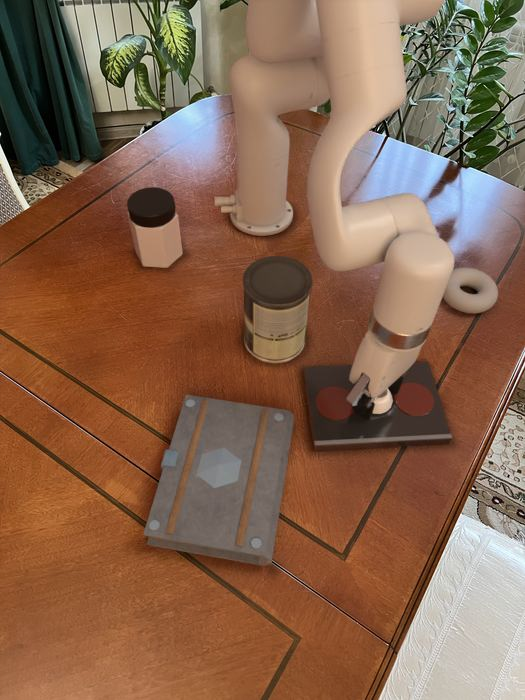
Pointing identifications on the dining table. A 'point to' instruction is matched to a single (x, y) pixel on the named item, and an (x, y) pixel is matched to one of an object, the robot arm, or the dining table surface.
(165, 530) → the book
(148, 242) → the jar
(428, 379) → the hob
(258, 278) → the coffee can
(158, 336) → the dining table surface
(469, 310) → the donut
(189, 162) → the dining table surface
